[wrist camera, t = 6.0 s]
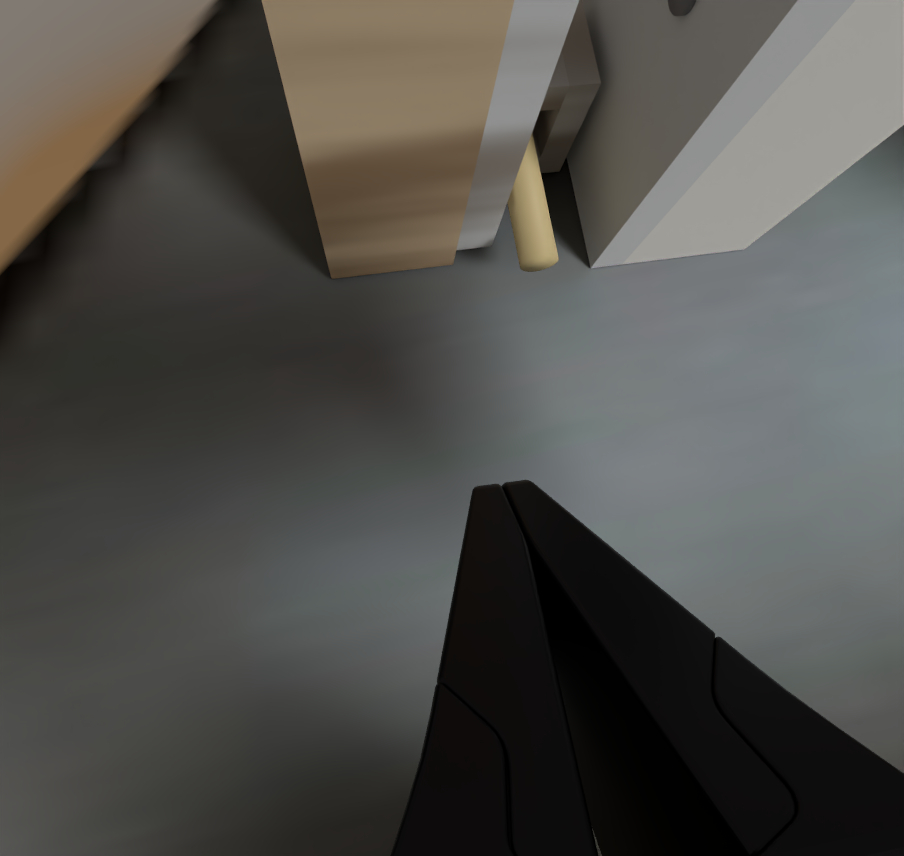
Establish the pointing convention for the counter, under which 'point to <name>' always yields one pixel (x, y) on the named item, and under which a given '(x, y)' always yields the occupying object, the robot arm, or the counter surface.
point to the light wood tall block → (426, 116)
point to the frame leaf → (716, 122)
